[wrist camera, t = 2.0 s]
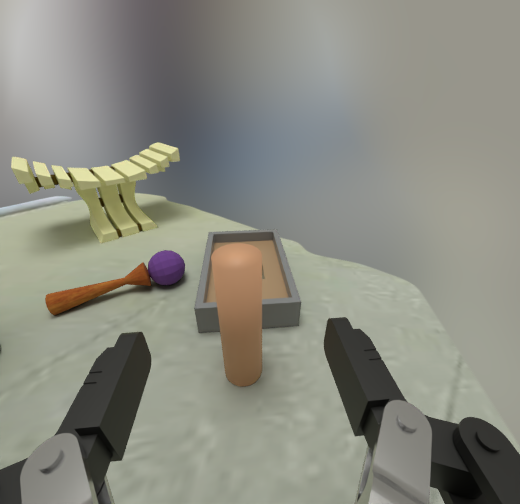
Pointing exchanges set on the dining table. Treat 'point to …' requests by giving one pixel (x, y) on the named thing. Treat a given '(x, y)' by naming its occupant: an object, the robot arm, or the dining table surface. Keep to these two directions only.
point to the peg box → (273, 283)
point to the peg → (239, 310)
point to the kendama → (122, 282)
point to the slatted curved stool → (104, 188)
